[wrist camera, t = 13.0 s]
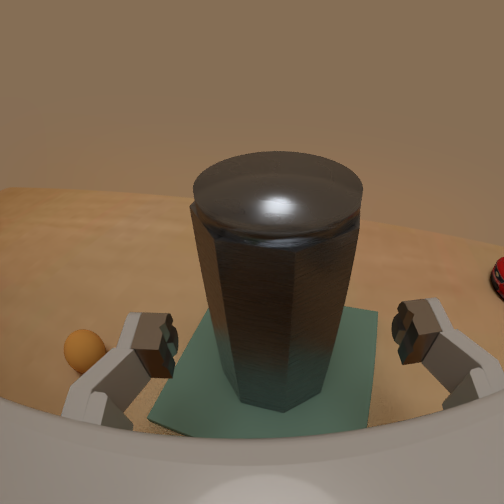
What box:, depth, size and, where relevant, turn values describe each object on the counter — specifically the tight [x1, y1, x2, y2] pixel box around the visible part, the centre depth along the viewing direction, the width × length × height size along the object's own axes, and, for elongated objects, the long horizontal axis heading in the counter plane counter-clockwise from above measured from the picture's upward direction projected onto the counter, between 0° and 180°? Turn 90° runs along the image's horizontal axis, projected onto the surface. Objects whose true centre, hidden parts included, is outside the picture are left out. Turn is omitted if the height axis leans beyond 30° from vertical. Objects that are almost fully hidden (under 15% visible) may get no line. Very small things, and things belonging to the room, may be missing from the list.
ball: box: [64, 329, 106, 373], centre depth 18 cm, size 3×3×3 cm
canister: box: [190, 151, 363, 413], centre depth 14 cm, size 6×6×12 cm
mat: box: [147, 306, 378, 439], centre depth 18 cm, size 12×12×1 cm
